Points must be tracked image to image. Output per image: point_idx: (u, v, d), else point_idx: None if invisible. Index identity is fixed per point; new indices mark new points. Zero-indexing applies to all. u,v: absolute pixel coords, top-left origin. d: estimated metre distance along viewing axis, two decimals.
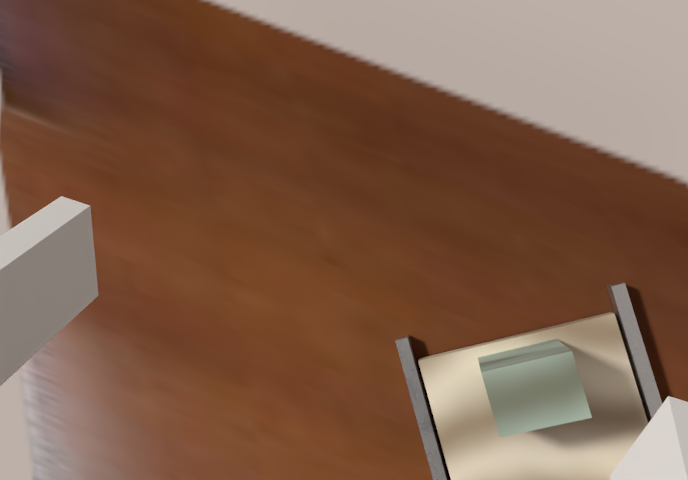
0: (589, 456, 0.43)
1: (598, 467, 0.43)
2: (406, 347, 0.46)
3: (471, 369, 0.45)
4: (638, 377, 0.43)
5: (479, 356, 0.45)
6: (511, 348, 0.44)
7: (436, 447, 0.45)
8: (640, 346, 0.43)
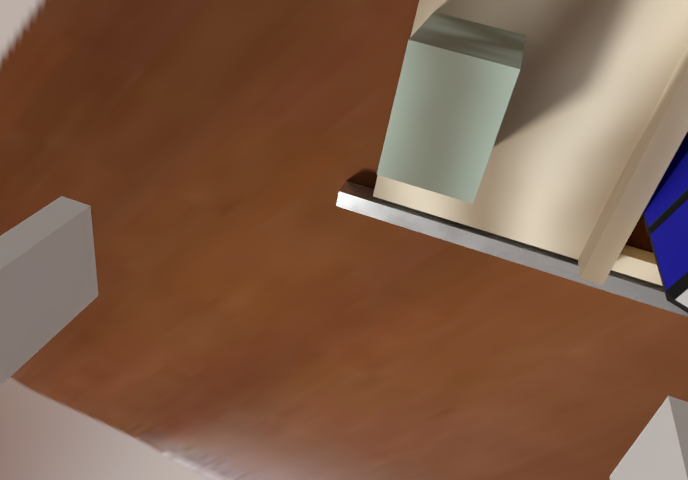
0: (623, 63, 0.26)
1: (647, 59, 0.26)
2: (349, 198, 0.34)
3: None
4: None
5: None
6: None
7: (484, 238, 0.33)
8: None
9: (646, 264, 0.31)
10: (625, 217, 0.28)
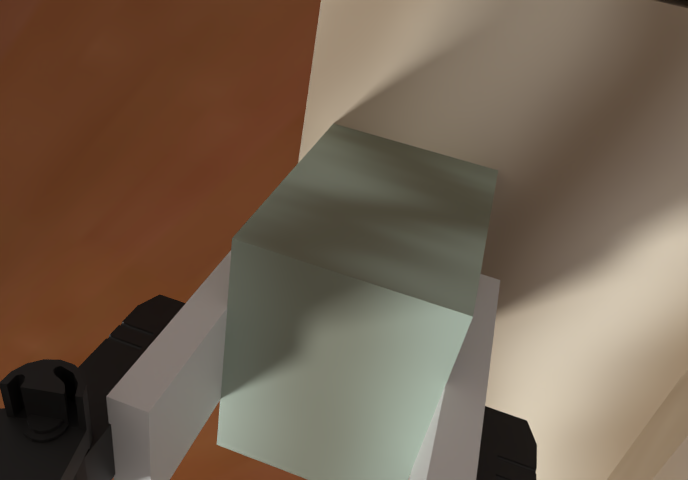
0: (679, 226, 0.14)
1: None
2: None
3: None
4: None
5: None
6: None
7: None
8: None
9: None
10: None
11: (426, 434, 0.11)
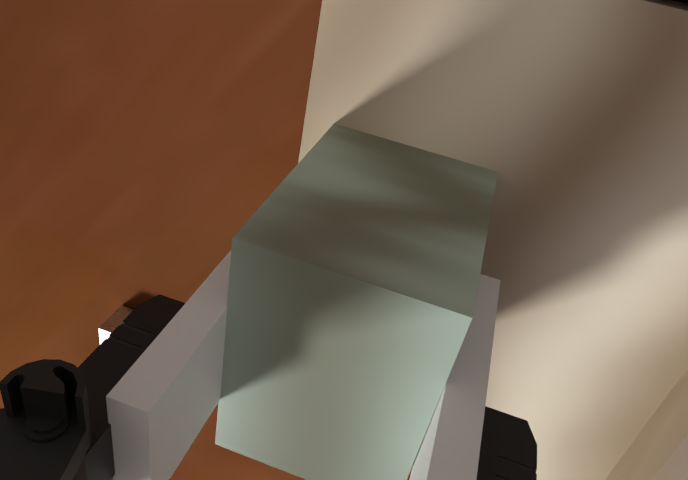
0: (678, 229, 0.14)
1: None
2: None
3: None
4: None
5: None
6: None
7: None
8: None
9: None
10: None
11: (426, 434, 0.11)
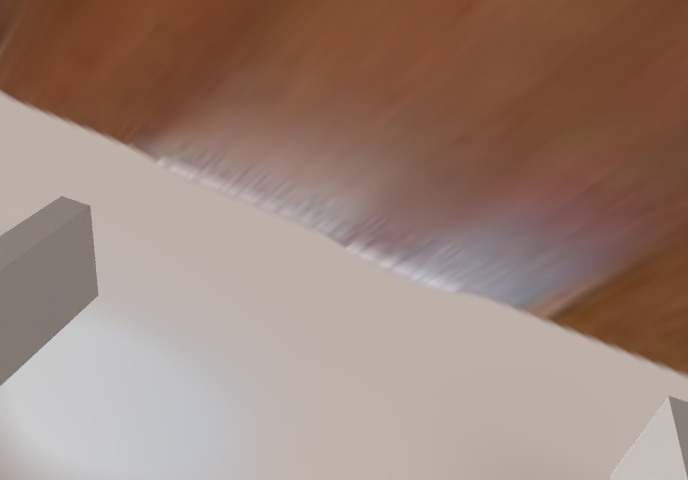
0: None
1: None
2: None
3: None
4: None
5: None
6: None
7: None
8: None
9: None
10: None
11: None
